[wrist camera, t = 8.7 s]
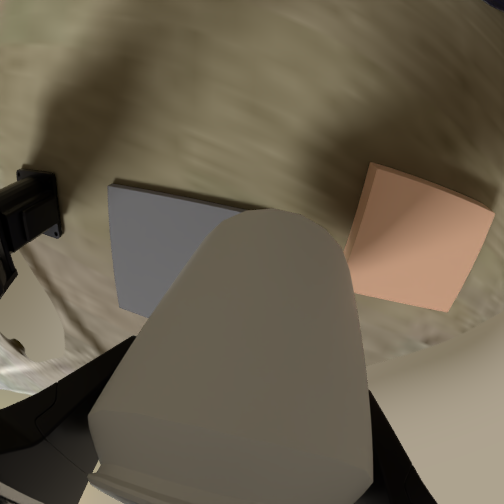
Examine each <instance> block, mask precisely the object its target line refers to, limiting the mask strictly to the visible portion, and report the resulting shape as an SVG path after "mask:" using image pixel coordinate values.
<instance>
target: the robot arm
mask: <svg viewBox="0 0 504 504" xmlns="http://www.w3.org/2000/svg"><path fill="white" fill-rule="evenodd" d="M41 234H45V235H48V236H51V237H54V238H56V239H58V238H60V237H61V236H62V231H61V225H60V218H59V210H58V201H57V190H56V178H55V175H54V173H52V172H44V171H36V170H28V169H19V170H17V182H15V183H12V184H10V185H8V186H6V187H4V188H2V189H0V299H1V297H2V296H3V294H4V293H5V292H6V290H7V289H8V287H9V286H10V285H11V283H12V282H13V281H14V279H15V278H16V277H17V275H18V273H17V270H16V269H15V267H14V264H13V261H12V257H11V254H12V253H13V252H16V251H17V250H18V249H20V248H21V247H23V246H24V245H25V244H27V243H28V242H31V241H32V240H34V239H35V238H36V237H38V236H39V235H41ZM136 337H137V336H131V337H129V338H128V339H126V340H124V341H123V342H121V343H120V344H118V345H116V346H115V347H113V348H112V349H110V350H108V351H107V352H105V353H103V354H102V355H100V356H99V357H97V358H95V359H94V360H92V361H90V362H89V363H87V364H86V365H84V366H82V367H81V368H79V369H77V370H76V371H74V372H72V373H71V374H69V375H68V376H66V377H64V378H63V379H61V380H59V381H58V383H57V382H56V383H54V384H53V385H51V386H49V387H48V388H46V389H44V390H42V391H41V392H39V393H37V394H35V395H33V396H31V397H28V398H26V399H24V400H22V401H20V402H17V403H15V404H13V405H11V406H9V407H6V408H3V409H0V504H78V503H79V500H80V498H81V496H82V494H83V491H84V490H85V487H86V485H87V483H88V481H89V480H88V478H87V476H88V474H91V473H92V472H93V470H94V468H95V466H96V464H97V462H98V460H99V458H98V455H97V452H96V449H95V446H94V443H93V440H92V437H91V433H90V430H89V424H88V414H89V413H90V411H91V409H92V408H93V406H94V404H95V403H96V401H97V399H98V398H99V396H100V394H101V393H102V391H103V389H104V388H105V386H106V384H107V383H108V381H109V379H110V378H111V376H112V375H113V373H114V371H115V370H116V368H117V367H118V365H119V363H120V362H121V360H122V359H123V357H124V356H125V354H126V352H127V351H128V349H129V348H130V346H131V345H132V343H133V342H134V340H135V338H136ZM368 392H369V403H370V415H371V429H372V449H373V483H372V484H371V485H370V487H369V488H368V489H367V490H366V491H365V493H364V494H363V495H362V496H361V497H360V498H359V499H358V500H357V501H356V502H355V503H354V504H437V502H436V501H435V499H434V498H433V497H432V495H431V494H430V493H429V491H428V489H427V488H426V486H425V485H424V484H423V482H422V481H421V478H420V477H419V475H418V473H417V472H416V470H415V468H414V466H413V465H412V463H411V461H410V459H409V457H408V456H407V454H406V452H405V450H404V449H403V447H402V445H401V443H400V441H399V440H398V438H397V436H396V434H395V432H394V431H393V429H392V427H391V425H390V424H389V422H388V420H387V419H386V417H385V415H384V413H383V412H382V410H381V408H380V407H379V405H378V403H377V401H376V400H375V398H374V396H373V395H372V393H371V391H370V390H368Z"/></svg>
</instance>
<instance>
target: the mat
mask: <svg viewBox="0 0 504 504" xmlns="http://www.w3.org/2000/svg"><path fill="white" fill-rule="evenodd" d="M108 210H109V226H110V239H111V249H112V259H113V267H114V275H115V282H116V289H117V296H118V302H119V308H122V309H125V310H127V311H130V312H133V313H136V314H138V315H141V316H144V317H147V318H149V317H150V316H151V314H152V313H153V311H154V310H155V308H156V307H157V305H158V304H159V302H160V301H161V299H162V298H163V297H164V295H165V294H166V292H167V291H168V289H169V288H170V286H171V285H172V283H173V282H174V281H175V279H176V278H177V276H178V275H179V273H180V272H181V271H182V269H183V268H184V266H185V265H186V263H187V262H188V261H189V259H190V258H191V256H192V255H193V254H194V252H195V251H196V249H197V248H198V247H199V245H200V244H201V243H202V241H203V240H204V238H205V237H206V236H207V235H208V234H209V233H210V232H211V231H212V230H213V229H214V228H215V227H216V226H218V225H219V224H220V223H221V222H222V221H223V220H226V219H228V218H230V217H232V216H235V215H237V214H239V213H242V212H244V211H248V210H245V209H240V208H235V207H231V206H226V205H222V204H217V203H212V202H207V201H202V200H198V199H193V198H188V197H183V196H177V195H172V194H167V193H162V192H157V191H151V190H146V189H140V188H135V187H129V186H123V185H117V184H110V185H108Z"/></svg>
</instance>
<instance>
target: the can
mask: <svg viewBox="0 0 504 504" xmlns="http://www.w3.org/2000/svg"><path fill="white" fill-rule="evenodd" d="M88 424H89V430H90V433H91V437H92V440H93V443H94V446H95V449H96V452H97V455H98V458H99V461H100V464H101V466H100V468H99V469H98V471H97V473H91V474H88V476H87V478H88V480H89V482H90V484H91V485H92V486H94V487H95V488H97V489H98V490H100V491H102V492H103V493H105V494H107V495H109V496H111V497H112V498H114V499H116V500H118V501H120V502H122V503H124V504H354V503H355V502H356V501H357V500H358V499H359V498H360V497H361V496H362V495H363V494H364V493H365V491H366V490H367V489H368V488H369V487H370V485H371V484H372V483H373V449H372V429H371V415H370V403H369V392H368V382H367V373H366V365H365V357H364V350H363V343H362V336H361V330H360V323H359V317H358V311H357V306H356V300H355V295H354V289H353V284H352V279H351V274H350V270H349V267H348V264H347V261H346V258H345V256H344V253H343V250H342V248H341V246H340V245H339V244H338V243H337V242H336V241H335V239H334V238H333V237H332V236H331V235H330V234H329V233H328V231H327V230H326V229H325V228H323V227H322V226H320V225H318V224H317V223H315V222H313V221H311V220H310V219H308V218H306V217H305V216H303V215H301V214H297V213H292V212H288V211H283V210H279V209H274V208H271V209H260V210H248V211H244V212H242V213H239V214H237V215H235V216H232V217H230V218H228V219H226V220H223V221H222V222H221V223H220V224H219V225H218V226H216V227H215V228H214V229H213V230H212V231H211V232H210V233H209V234H208V235H207V236H206V237H205V238H204V240H203V241H202V243H201V244H200V245H199V247H198V248H197V249H196V251H195V252H194V254H193V255H192V256H191V258H190V259H189V261H188V262H187V263H186V265H185V266H184V268H183V269H182V271H181V272H180V273H179V275H178V276H177V278H176V279H175V281H174V282H173V283H172V285H171V286H170V288H169V289H168V291H167V292H166V294H165V295H164V297H163V298H162V299H161V301H160V302H159V304H158V305H157V307H156V308H155V310H154V311H153V313H152V314H151V316H150V317H149V319H148V320H147V322H146V323H145V325H144V326H143V328H142V329H141V331H140V332H139V334H138V335H137V337H136V338H135V340H134V342H133V343H132V345H131V346H130V348H129V349H128V351H127V352H126V354H125V356H124V357H123V359H122V360H121V362H120V363H119V365H118V367H117V368H116V370H115V371H114V373H113V375H112V376H111V378H110V379H109V381H108V383H107V384H106V386H105V388H104V389H103V391H102V393H101V394H100V396H99V398H98V399H97V401H96V403H95V404H94V406H93V408H92V409H91V411H90V413H89V414H88Z"/></svg>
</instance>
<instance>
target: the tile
mask: <svg viewBox="0 0 504 504" xmlns="http://www.w3.org/2000/svg"><path fill="white" fill-rule="evenodd" d="M494 216H495V213H494V212H493V211H492V210H490V209H489V208H488V207H486V206H485V205H484V204H482V203H481V202H478V201H476V200H474V199H472V198H469V197H467V196H465V195H462V194H460V193H458V192H455V191H453V190H450V189H448V188H445V187H443V186H440V185H438V184H435V183H432V182H430V181H427V180H424V179H422V178H419V177H416V176H413V175H410V174H407V173H404V172H401V171H398V170H395V169H392V168H389V167H386V166H383V165H380V164H376V163H373V162H370V164H369V168H368V172H367V176H366V179H365V183H364V187H363V190H362V194H361V197H360V201H359V204H358V208H357V211H356V214H355V217H354V221H353V224H352V227H351V230H350V234H349V237H348V240H347V243H346V246H345V249H344V252H343V253H344V256H345V258H346V261H347V264H348V267H349V270H350V274H351V279H352V284H353V289H354V293H357V294H362V295H367V296H371V297H376V298H380V299H385V300H390V301H395V302H399V303H404V304H409V305H414V306H419V307H423V308H428V309H433V310H438V311H443V312H448V311H449V309H450V307H451V306H452V304H453V302H454V300H455V299H456V297H457V295H458V293H459V291H460V290H461V288H462V286H463V284H464V282H465V280H466V278H467V276H468V274H469V273H470V271H471V269H472V266H473V264H474V262H475V260H476V258H477V256H478V254H479V252H480V249H481V247H482V245H483V243H484V240H485V238H486V236H487V233H488V231H489V228H490V226H491V223H492V221H493V218H494Z"/></svg>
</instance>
